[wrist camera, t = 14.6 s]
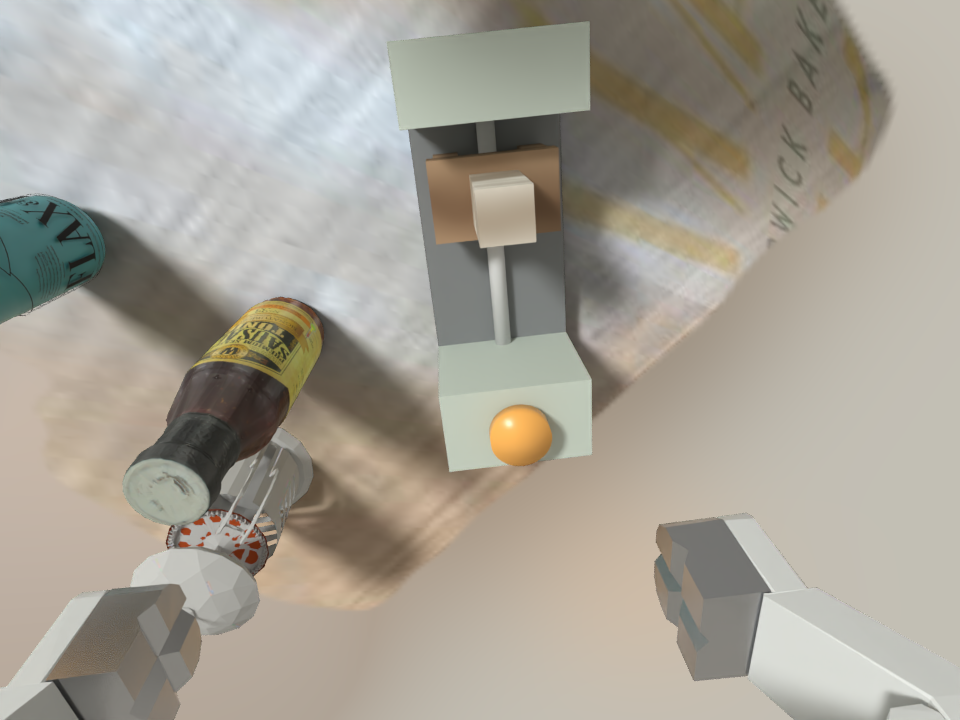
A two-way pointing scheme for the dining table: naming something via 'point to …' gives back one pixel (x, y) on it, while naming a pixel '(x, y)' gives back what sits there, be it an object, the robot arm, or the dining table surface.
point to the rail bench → (502, 269)
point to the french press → (232, 537)
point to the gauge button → (520, 435)
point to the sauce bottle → (226, 410)
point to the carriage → (495, 195)
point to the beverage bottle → (44, 252)
